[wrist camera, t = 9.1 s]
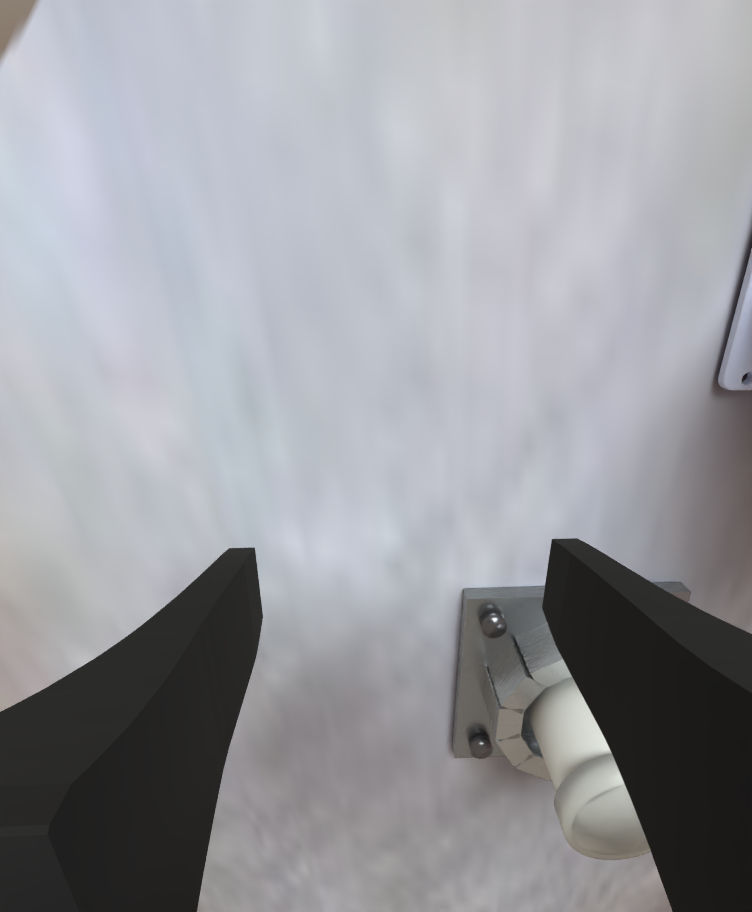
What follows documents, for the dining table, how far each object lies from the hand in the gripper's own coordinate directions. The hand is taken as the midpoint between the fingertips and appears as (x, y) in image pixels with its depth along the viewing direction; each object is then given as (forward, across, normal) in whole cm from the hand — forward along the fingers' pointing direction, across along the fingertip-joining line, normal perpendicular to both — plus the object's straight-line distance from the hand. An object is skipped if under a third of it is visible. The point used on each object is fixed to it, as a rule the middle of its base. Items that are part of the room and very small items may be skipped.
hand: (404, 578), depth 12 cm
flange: (+10, -10, +14) cm, 19 cm away
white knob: (+9, -9, +13) cm, 18 cm away
